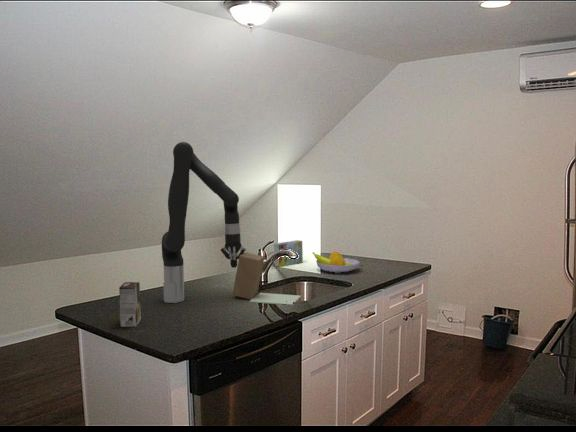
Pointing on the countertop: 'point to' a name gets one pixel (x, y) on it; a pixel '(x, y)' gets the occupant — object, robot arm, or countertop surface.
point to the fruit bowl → (336, 263)
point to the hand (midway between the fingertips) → (234, 267)
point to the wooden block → (248, 275)
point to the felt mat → (275, 298)
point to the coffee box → (130, 304)
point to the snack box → (293, 246)
